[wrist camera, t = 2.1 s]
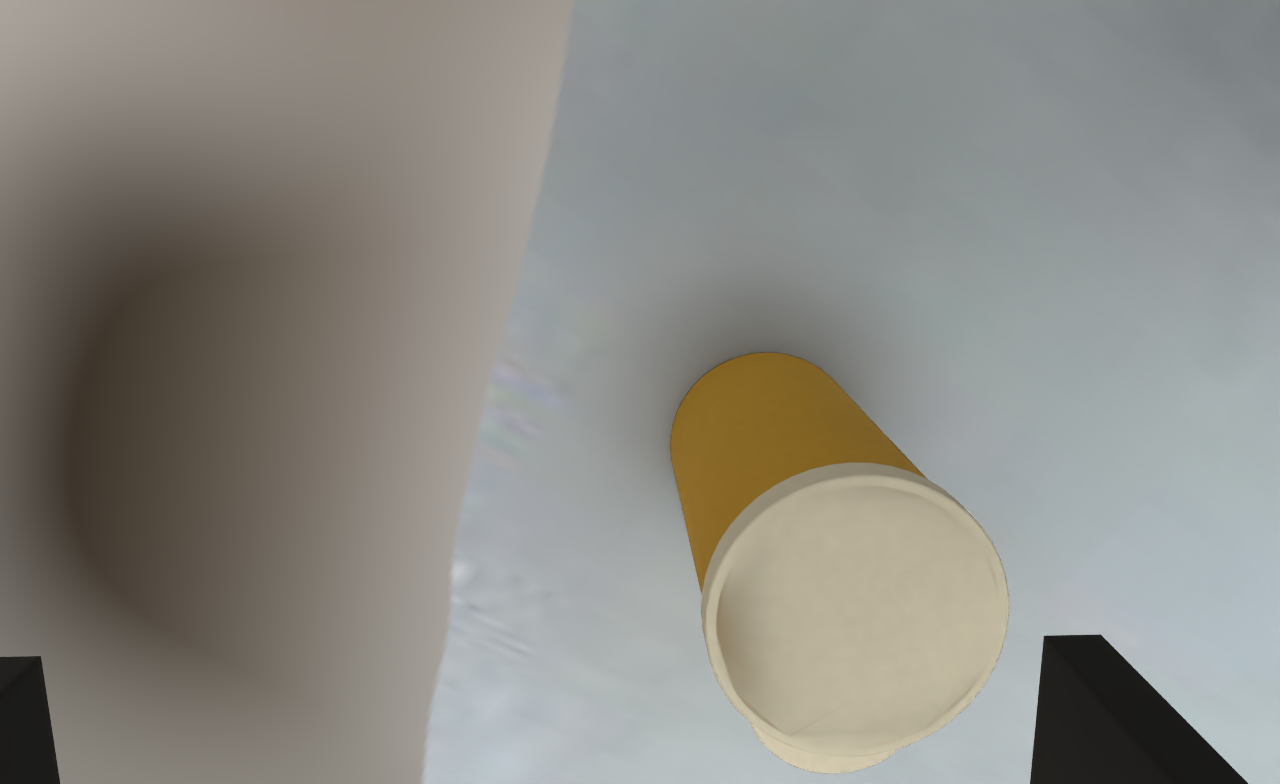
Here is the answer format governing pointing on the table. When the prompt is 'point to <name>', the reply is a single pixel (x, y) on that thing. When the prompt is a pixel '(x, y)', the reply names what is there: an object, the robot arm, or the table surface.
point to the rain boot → (829, 568)
